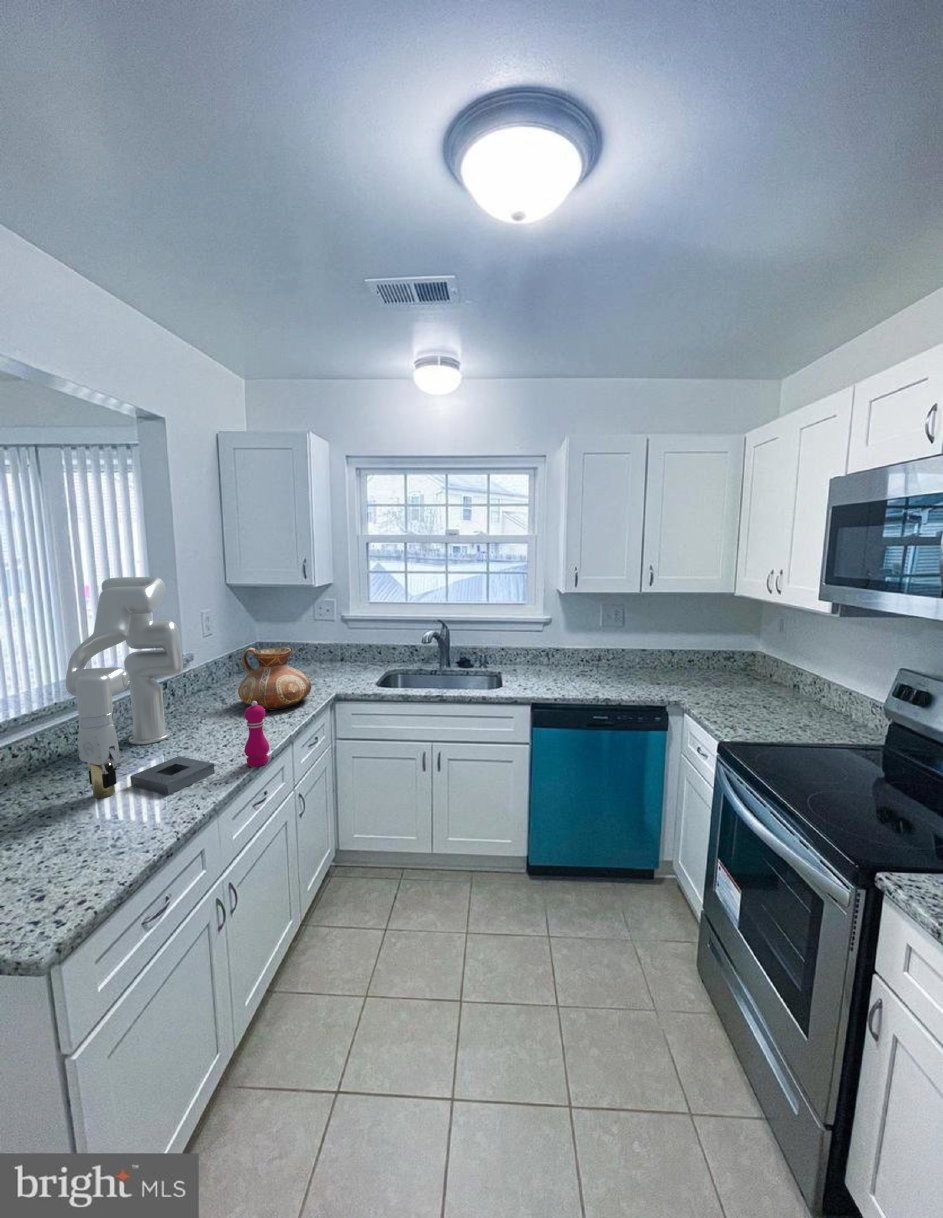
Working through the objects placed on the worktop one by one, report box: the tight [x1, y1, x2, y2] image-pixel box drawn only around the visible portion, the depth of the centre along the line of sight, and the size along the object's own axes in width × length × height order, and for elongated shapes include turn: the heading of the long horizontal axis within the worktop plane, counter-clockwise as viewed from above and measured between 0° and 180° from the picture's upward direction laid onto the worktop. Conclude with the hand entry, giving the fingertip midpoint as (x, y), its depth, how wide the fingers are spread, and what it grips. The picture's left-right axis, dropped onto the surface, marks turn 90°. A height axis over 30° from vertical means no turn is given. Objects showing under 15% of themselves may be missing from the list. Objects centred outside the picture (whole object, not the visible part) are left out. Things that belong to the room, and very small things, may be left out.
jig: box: [130, 755, 215, 796], centre depth 149 cm, size 15×15×3 cm
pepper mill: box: [243, 701, 270, 768], centre depth 159 cm, size 7×7×20 cm
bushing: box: [90, 759, 116, 799], centre depth 139 cm, size 5×5×9 cm
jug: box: [237, 647, 312, 711], centre depth 221 cm, size 30×30×25 cm
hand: (103, 783), depth 140 cm, fingers closed on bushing, 4 cm apart
